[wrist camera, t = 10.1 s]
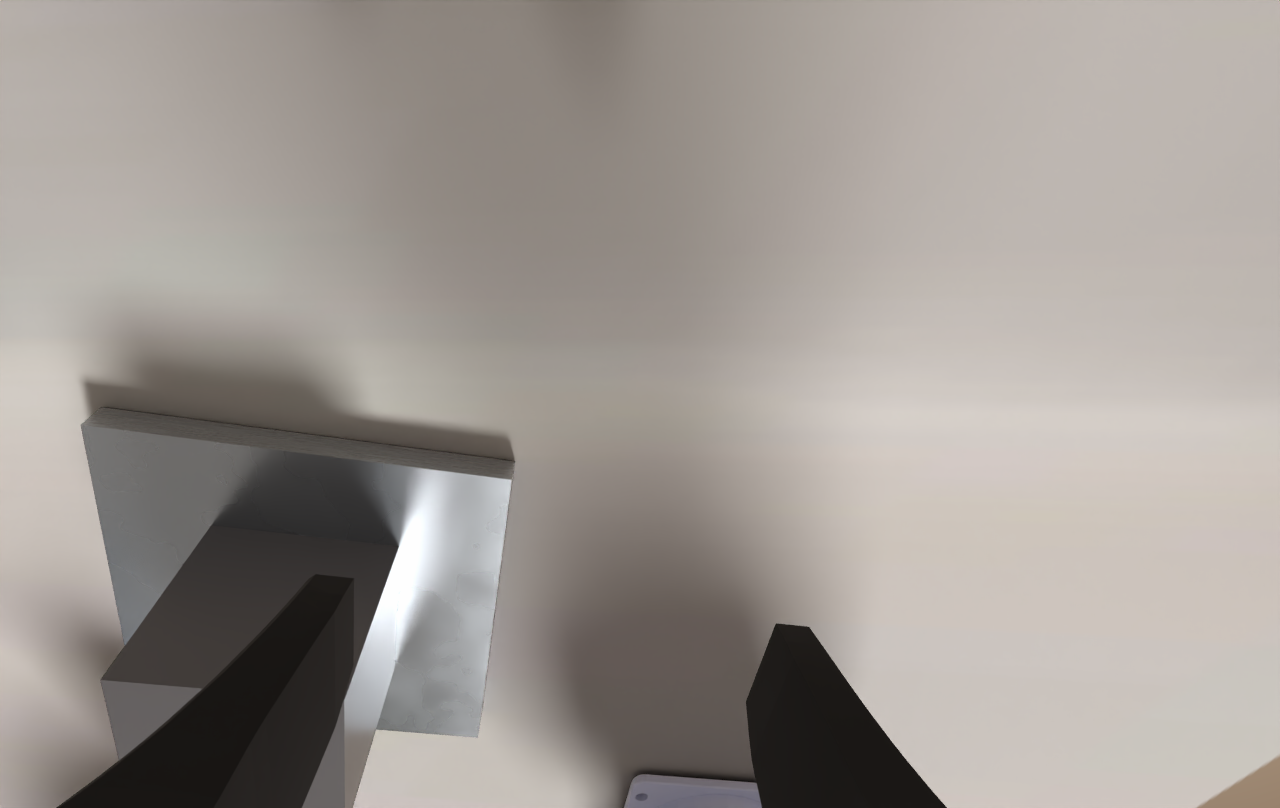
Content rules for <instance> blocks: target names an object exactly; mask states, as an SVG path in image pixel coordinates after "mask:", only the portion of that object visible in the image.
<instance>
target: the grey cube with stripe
mask: <svg viewBox="0 0 1280 808" xmlns="http://www.w3.org/2000/svg"><path fill="white" fill-rule="evenodd" d="M398 563H399V546H392V545H383V544H374V543H365V542H356V541H347V540H339V539H330V538H321V537H312V536H303V535H294V534H285V533H276V532H267V531H258V530H249V529H240V528H231V527H222V526H213V525H211V526H210V528H209V529H208V530H207V532H206V533H205V535H204V536H203V537H202V539H201V540H200V542H199V543H198V544H197V546H196V547H195V549H194V550H193V551H192V553H191V554H190V556H189V557H188V558H187V560H186V561H185V563H184V564H183V565H182V567H181V568H180V570H179V571H178V572H177V574H176V575H175V577H174V578H173V579H172V581H171V582H170V584H169V585H168V586H167V588H166V589H165V591H164V592H163V593H162V595H161V596H160V598H159V599H158V600H157V602H156V603H155V605H154V606H153V607H152V609H151V610H150V612H149V613H148V614H147V616H146V617H145V618H144V620H143V621H142V623H141V624H140V625H139V627H138V628H137V630H136V631H135V632H134V634H133V635H132V637H131V638H130V639H129V641H128V642H127V644H126V645H125V646H124V648H123V649H122V651H121V652H120V653H119V655H118V656H117V658H116V659H115V660H114V662H113V663H112V665H111V666H110V667H109V669H108V670H107V672H106V673H105V674H104V676H103V677H102V679H101V685H102V689H103V693H104V697H105V702H106V706H107V710H108V715H109V719H110V723H111V728H112V732H113V736H114V740H115V745H116V749H117V753H118V758H119V760H120V759H122V758H123V757H124V756H125V755H127V754H128V753H129V752H130V751H132V750H133V749H134V748H135V747H136V746H138V745H139V744H140V743H141V742H143V741H144V740H145V739H146V738H147V737H149V736H150V735H151V734H152V733H153V732H154V731H156V730H157V729H158V728H159V727H160V726H162V725H163V724H164V723H165V722H166V721H167V720H168V719H170V718H171V717H172V716H173V715H174V714H175V713H176V712H177V711H178V710H180V709H181V708H182V707H183V706H184V705H185V704H186V703H187V702H188V701H189V700H191V699H192V698H193V697H194V696H195V695H196V694H197V693H198V692H199V691H201V690H202V689H203V688H204V687H205V686H206V685H207V684H208V683H209V682H210V681H211V680H213V679H214V678H215V677H216V676H217V675H218V674H219V673H220V672H221V671H222V670H223V669H224V668H225V667H226V666H227V665H228V664H229V663H230V662H231V661H232V660H233V659H234V658H235V657H236V656H237V655H238V654H239V653H240V652H241V651H242V650H243V649H244V648H245V647H246V646H247V645H248V644H249V643H250V642H251V641H252V640H253V639H254V638H255V637H256V636H257V635H258V634H259V633H260V632H261V631H262V630H263V629H264V628H265V627H266V625H267V624H268V623H269V622H270V621H271V620H272V619H273V618H274V617H275V616H276V615H277V614H278V613H279V612H280V610H281V609H282V608H283V607H284V606H285V605H286V604H287V603H288V602H289V601H290V599H291V598H292V597H293V596H294V595H295V594H296V593H297V591H298V590H299V589H300V588H301V587H302V586H303V585H304V583H305V582H306V581H307V580H308V579H309V578H310V577H312V576H314V575H315V574H319V575H328V576H338V577H347V578H354V664H353V669H352V672H351V676H350V679H349V683H348V686H347V690H346V693H345V697H344V700H343V704H342V707H341V710H340V713H339V717H338V720H337V723H336V727H335V729H334V732H333V734H332V737H331V739H330V741H329V744H328V746H327V749H326V751H325V754H324V756H323V758H322V761H321V763H320V766H319V768H318V771H317V773H316V775H315V778H314V780H313V783H312V785H311V787H310V790H309V792H308V794H307V797H306V799H305V802H304V804H303V806H302V808H353V805H354V801H355V798H356V795H357V791H358V788H359V785H360V781H361V778H362V775H363V771H364V768H365V765H366V761H367V758H368V755H369V751H370V748H371V745H372V741H373V738H374V735H375V731H376V728H377V724H378V721H379V718H380V714H381V711H382V708H383V704H384V701H385V698H386V694H387V691H388V688H389V684H390V681H391V678H392V674H393V671H394V660H395V636H396V612H397V588H398Z"/></svg>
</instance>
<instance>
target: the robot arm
mask: <svg viewBox="0 0 1280 808" xmlns="http://www.w3.org/2000/svg"><path fill="white" fill-rule="evenodd" d="M353 664H354V578H347V577H338V576H328V575H319V574H315V575H314V576H312V577H310V578H309V579H308V580H307V581H306V582H305V583H304V585H303V586H302V587H301V588H300V589H299V590H298V591H297V593H296V594H295V595H294V596H293V597H292V598H291V599H290V601H289V602H288V603H287V604H286V605H285V606H284V607H283V608H282V609H281V610H280V612H279V613H278V614H277V615H276V616H275V617H274V618H273V619H272V620H271V621H270V622H269V623H268V624H267V625H266V627H265V628H264V629H263V630H262V631H261V632H260V633H259V634H258V635H257V636H256V637H255V638H254V639H253V640H252V641H251V642H250V643H249V644H248V645H247V646H246V647H245V648H244V649H243V650H242V651H241V652H240V653H239V654H238V655H237V656H236V657H235V658H234V659H233V660H232V661H231V662H230V663H229V664H228V665H227V666H226V667H225V668H224V669H223V670H222V671H221V672H220V673H219V674H218V675H217V676H216V677H215V678H214V679H213V680H211V681H210V682H209V683H208V684H207V685H206V686H205V687H204V688H203V689H202V690H201V691H199V692H198V693H197V694H196V695H195V696H194V697H193V698H192V699H191V700H189V701H188V702H187V703H186V704H185V705H184V706H183V707H182V708H181V709H180V710H178V711H177V712H176V713H175V714H174V715H173V716H172V717H171V718H170V719H168V720H167V721H166V722H165V723H164V724H163V725H162V726H160V727H159V728H158V729H157V730H156V731H154V732H153V733H152V734H151V735H150V736H149V737H147V738H146V739H145V740H144V741H143V742H141V743H140V744H139V745H138V746H136V747H135V748H134V749H133V750H132V751H130V752H129V753H128V754H127V755H125V756H124V757H123V758H122V759H120V760H119V761H118V762H117V763H115V764H114V765H113V766H111V767H110V768H109V769H108V770H106V771H105V772H104V773H103V774H101V775H100V776H99V777H97V778H96V779H95V780H93V781H92V782H91V783H89V784H88V785H87V786H85V787H84V788H83V789H81V790H80V791H78V792H77V793H76V794H74V795H73V796H72V797H70V798H69V799H68V800H66V801H65V802H64V803H62V804H61V805H59V806H58V807H57V808H302V806H303V804H304V802H305V799H306V797H307V794H308V792H309V790H310V787H311V785H312V783H313V780H314V778H315V775H316V773H317V771H318V768H319V766H320V763H321V761H322V758H323V756H324V754H325V751H326V749H327V746H328V744H329V741H330V739H331V737H332V734H333V732H334V729H335V727H336V723H337V720H338V717H339V713H340V710H341V707H342V704H343V700H344V697H345V693H346V690H347V686H348V683H349V679H350V676H351V672H352V669H353ZM746 706H747V718H748V729H749V739H750V748H751V757H752V763H753V768H754V773H755V778H756V782H757V783H753V782H740V781H727V780H714V779H701V778H688V777H675V776H662V775H650V774H641V775H638V776H636V777H635V778H633V780H632V782H631V786H630V789H629V792H628V796H627V799H626V802H625V806H624V808H947V807H946V806H945V805H944V804H943V803H942V802H941V801H940V799H939V798H938V797H937V796H936V795H935V794H934V793H933V792H932V790H931V789H930V788H929V787H928V786H927V784H926V783H925V782H924V781H923V780H922V778H921V777H920V776H919V775H918V774H917V772H916V771H915V770H914V769H913V768H912V766H911V765H910V764H909V763H908V762H907V760H906V759H905V758H904V757H903V755H902V754H901V753H900V752H899V750H898V749H897V748H896V747H895V745H894V744H893V743H892V741H891V740H890V739H889V738H888V736H887V735H886V734H885V732H884V731H883V730H882V728H881V727H880V726H879V724H878V723H877V722H876V720H875V719H874V718H873V716H872V715H871V714H870V712H869V711H868V710H867V708H866V707H865V705H864V704H863V703H862V701H861V700H860V699H859V697H858V696H857V694H856V693H855V692H854V690H853V689H852V687H851V686H850V685H849V683H848V682H847V680H846V679H845V677H844V676H843V675H842V673H841V672H840V670H839V669H838V667H837V666H836V665H835V663H834V662H833V660H832V659H831V657H830V656H829V655H828V653H827V652H826V650H825V649H824V648H823V646H822V645H821V643H820V642H819V640H818V639H817V638H816V636H815V635H814V633H813V632H812V631H811V629H810V628H809V627H804V626H795V625H786V624H776V625H775V627H774V630H773V633H772V635H771V638H770V640H769V643H768V646H767V648H766V651H765V653H764V656H763V659H762V661H761V664H760V667H759V669H758V672H757V674H756V677H755V680H754V682H753V685H752V687H751V690H750V693H749V695H748V698H747V701H746Z"/></svg>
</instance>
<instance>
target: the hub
mask: <svg viewBox="0 0 1280 808" xmlns="http://www.w3.org/2000/svg"><path fill="white" fill-rule="evenodd" d="M81 429H82V434H83V439H84V444H85V449H86V454H87V459H88V464H89V469H90V474H91V479H92V484H93V489H94V494H95V499H96V504H97V509H98V514H99V519H100V524H101V529H102V534H103V539H104V544H105V549H106V554H107V559H108V564H109V569H110V574H111V579H112V584H113V589H114V595H115V600H116V605H117V610H118V615H119V620H120V625H121V630H122V635H123V640H124V645H126V644H127V642H128V641H129V639H130V638H131V637H132V635H133V634H134V632H135V631H136V630H137V628H138V627H139V625H140V624H141V623H142V621H143V620H144V618H145V617H146V616H147V614H148V613H149V612H150V610H151V609H152V607H153V606H154V605H155V603H156V602H157V600H158V599H159V598H160V596H161V595H162V593H163V592H164V591H165V589H166V588H167V586H168V585H169V584H170V582H171V581H172V579H173V578H174V577H175V575H176V574H177V572H178V571H179V570H180V568H181V567H182V565H183V564H184V563H185V561H186V560H187V558H188V557H189V556H190V554H191V553H192V551H193V550H194V549H195V547H196V546H197V544H198V543H199V542H200V540H201V539H202V537H203V536H204V535H205V533H206V532H207V530H208V529H209V528H210V526H211V525H213V526H222V527H231V528H240V529H249V530H258V531H267V532H276V533H285V534H294V535H303V536H312V537H321V538H330V539H339V540H347V541H356V542H365V543H374V544H383V545H392V546H399V563H398V588H397V612H396V636H395V660H394V671H393V674H392V678H391V681H390V684H389V688H388V691H387V694H386V698H385V701H384V704H383V708H382V711H381V714H380V718H379V721H378V724H377V728H376V729H378V730H390V731H402V732H415V733H427V734H439V735H452V736H464V737H476V738H478V734H479V728H480V721H481V715H482V708H483V700H484V692H485V685H486V677H487V670H488V662H489V655H490V647H491V639H492V632H493V624H494V617H495V609H496V601H497V594H498V586H499V579H500V571H501V564H502V556H503V548H504V541H505V533H506V526H507V518H508V510H509V503H510V495H511V488H512V480H513V473H514V465H515V461H509V460H501V459H494V458H486V457H479V456H471V455H463V454H456V453H448V452H440V451H433V450H425V449H417V448H410V447H402V446H395V445H387V444H379V443H372V442H364V441H356V440H349V439H341V438H333V437H326V436H318V435H310V434H303V433H295V432H288V431H280V430H272V429H265V428H257V427H249V426H242V425H234V424H226V423H219V422H211V421H204V420H196V419H188V418H181V417H173V416H165V415H158V414H150V413H142V412H135V411H127V410H119V409H112V408H104V407H101V408H100V409H99V410H98V411H96V412H95V413H94V414H93V415H92V416H91V417H89V418H88V419H87V420H86V421H85V422H83V423H82V424H81Z"/></svg>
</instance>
